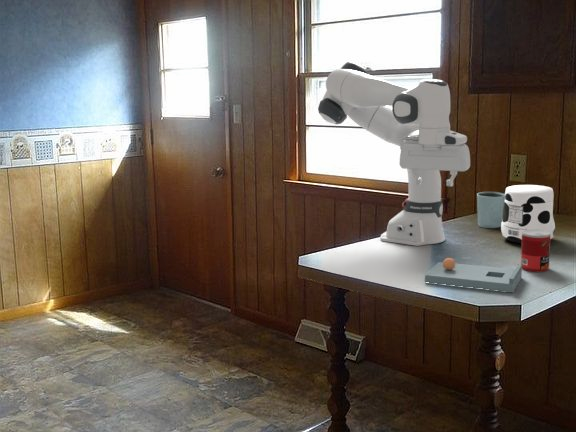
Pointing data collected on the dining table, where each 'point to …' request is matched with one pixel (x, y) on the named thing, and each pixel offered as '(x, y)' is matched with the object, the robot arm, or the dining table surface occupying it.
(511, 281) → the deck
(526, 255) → the canned food
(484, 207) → the pale blue cup
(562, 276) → the dining table surface
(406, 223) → the robot arm
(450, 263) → the ball
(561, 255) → the dining table surface
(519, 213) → the milk container
